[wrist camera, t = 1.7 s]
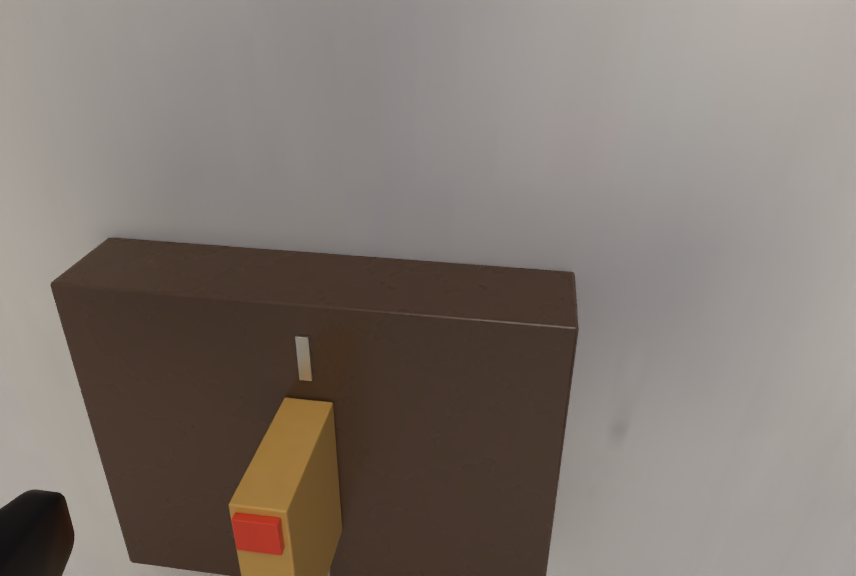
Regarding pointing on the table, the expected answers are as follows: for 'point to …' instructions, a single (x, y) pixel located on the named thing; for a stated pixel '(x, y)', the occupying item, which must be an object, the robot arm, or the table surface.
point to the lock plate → (327, 397)
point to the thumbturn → (290, 496)
